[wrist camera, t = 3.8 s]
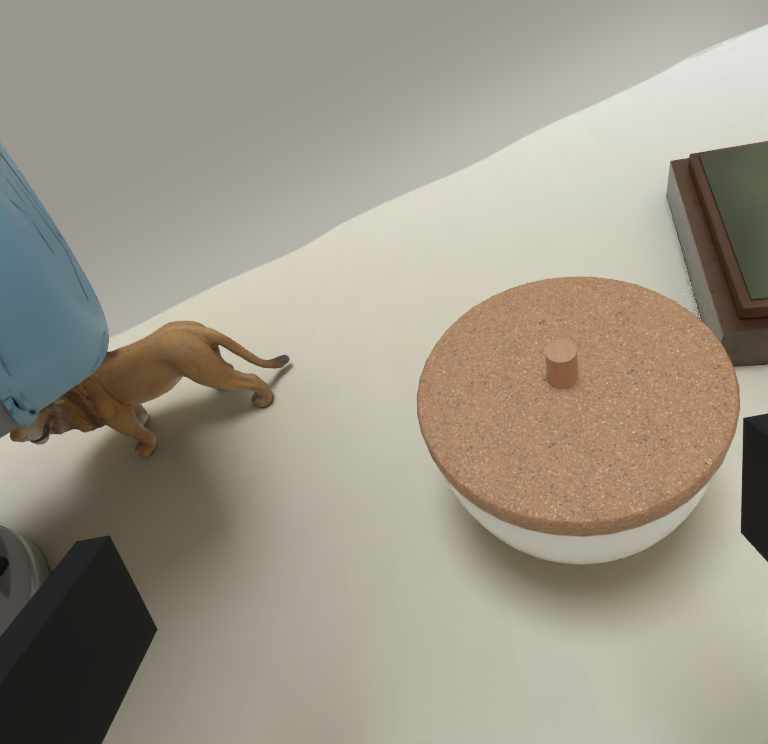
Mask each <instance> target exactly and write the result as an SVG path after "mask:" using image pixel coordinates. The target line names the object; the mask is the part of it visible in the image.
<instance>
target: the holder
mask: <svg viewBox="0 0 768 744" xmlns="http://www.w3.org/2000/svg"><path fill="white" fill-rule="evenodd" d="M667 197H668V201H669V204H670V208H671V212H672V215H673V219H674V222H675V226H676V229H677V233H678V237H679V240H680V244H681V247H682V251H683V254H684V258H685V262H686V265H687V269H688V272H689V276H690V279H691V283H692V287H693V290H694V294H695V297H696V301H697V304H698V308H699V312H700V315H701V319H702V322H703V323H704V324H705V325H706V326H707V327H708V328H709V329H710V330H711V331H712V332H713V333H714V335H715V336H716V337H717V339H718V340H719V341H720V343H721V344H722V345H723V347H724V348H725V350H726V352H727V354H728V356H729V358H730V360H731V362H732V364H733V366H737V365H754V364H768V141H765V142H759V143H753V144H747V145H741V146H735V147H729V148H723V149H718V150H712V151H706V152H700V153H694V154H690V156H689V158H686V159H680V160H674V161H671V162H670V170H669V178H668V187H667Z"/></svg>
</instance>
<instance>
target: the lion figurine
mask: <svg viewBox="0 0 768 744" xmlns="http://www.w3.org/2000/svg"><path fill="white" fill-rule="evenodd" d="M218 345H221V346H223V347H225V348H226V349H228V350H230V351H231V352H233V353H234V354H236V355H238V356H240V357H242V358H243V359H245V360H247V361H248V362H250V363H253V364H255V365H257V366H260V367H263V368H274V369H275V368H281V367H283V366H284V365H285V364H286V363H288V361H289V357H288V356H287V355H282V356H279V357H276V358H274V359H271V360H263V359H260V358H258V357H257V356H255V355H254V354H252V353H251V352H249V351H248V350H246V349H245V348H244V347H242V346H241V345H239V344H238V343H236V342H235V341H234V340H232V339H230V338H229V337H227V336H225V335H223V334H221V333H219V332H218V331H216V330H213V329H211V328H207V327H205V326H204V325H202V324H200V323H197V322H193V321H176V322H170V323H167V324H166V325H164V326H162V327H161V328H159V329H158V330H157V331H155V332H154V333H152V334H150V335H149V336H147V337H145V338H143V339H141V340H139V341H137V342H135V343H133V344H130V345H128V346H125V347H122V348H119V349H117V350H114V351H111V352H107V353H106V356H105V358H104V360H103V362H102V363H101V365H100V366H99V367H98V368H97V369H96V370H95V372H94V373H93V374H91V375H90V376H89V377H87V378H86V379H84V380H83V381H82V382H80V383H79V384H77V385H76V386H74V387H73V388H72V389H70V390H69V391H67V392H66V393H65V394H63V395H62V396H60V397H59V398H57V399H56V400H55V401H53V402H52V403H50V404H49V405H47V406H46V407H45V408H43V409H42V410H40V411H39V414H38V418H37V419H36V420H35V421H34V422H33V423H32V424H30V425H28V426H19V427H17V428H15V429H14V430H12V431H11V432H10V438H11V440H12V441H16V442H25V441H31V442H33V443H35V444H44V443H46V442H47V441H48V439H49V436H50V434H63V433H64V432H67V431H69V430H72V429H78V430H80V431H82V432H89V431H93V430H95V429H97V428H101V427H102V426H104V425H107V426H109V427H111V428H112V429H114V430H116V431H118V432H120V433H122V434H124V435H126V436H129V437H132V438H135V439H137V440H139V442H138V444H137V446H136V448H135V452H137V453H138V455H139V456H145V457H147V456H149V455H150V454H151V453H152V451H153V450H154V448H155V447H156V437H155V434H154V433H153V432H152V431H150V430H149V429H147V428H146V427H144V426H143V425H145V423H146V422H147V420H148V414H147V411H146V410H145V409H144V408H143V407H142V406H141V403H144V402H147V401H150V400H153V399H155V398H157V397H159V396H161V395H163V394H164V393H166V392H168V391H169V390H171V389H172V388H173V387H174V386H175V385H176V384H177V383H178V382H179V381H180V379H181V378H182V377H183V376H184V377H187V378H189V379H191V380H193V381H194V382H196V383H198V384H201V385H204V386H208V387H211V388H215V389H225V390H248V391H255V393H254V395H253V396H252V399H251V401H252V402H253V403H254V404H255V405H256V406H259V407H264V406H266V405H268V404H269V403H270V402H271V400H272V392H271V389H270V387H269V385H268V384H266V383H265V382H264V381H263V380H261V379H260V378H259V377H258V376H256V375H254V374H246V373H241V372H238V371H236V370H234V367H233V366H232V365H231V364H229V363H227V362H226V361H224V360H223V358H222V356H221V354H220V350H219V347H218Z"/></svg>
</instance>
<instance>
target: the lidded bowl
mask: <svg viewBox="0 0 768 744" xmlns="http://www.w3.org/2000/svg"><path fill="white" fill-rule="evenodd" d="M739 411H740V397H739V385H738V381H737V377H736V373H735V370H734V366H733V364H732V362H731V360H730V358H729V356H728V354H727V352H726V350H725V348H724V347H723V345H722V344H721V343H720V341H719V340H718V339H717V337H716V336H715V335H714V333H713V332H712V331H711V330H710V329H709V328H708V327H707V326H706V325H705V324H704V323H703V322H702V321H701V320H700V319H698V318H697V317H696V316H695V315H694V314H693V313H691V312H690V311H688V310H687V309H686V308H684V307H683V306H681V305H680V304H678V303H677V302H676V301H674V300H672V299H669V298H667V297H665V296H663V295H661V294H659V293H657V292H655V291H652V290H649V289H647V288H644V287H641V286H638V285H636V284H631V283H627V282H622V281H618V280H612V279H605V278H597V277H564V278H552V279H546V280H541V281H536V282H531V283H527V284H524V285H521V286H517V287H514V288H511V289H508V290H506V291H504V292H501V293H499V294H497V295H495V296H492V297H490V298H489V299H487V300H485V301H483V302H482V303H480V304H478V305H476V306H474V307H473V308H472V309H471V310H469V311H468V312H467V313H465V314H464V315H463V316H462V317H460V318H459V319H458V320H457V321H456V322H455V323H454V324H453V325H452V326H451V327H450V328H449V329H448V330H446V332H445V333H444V334H443V336H442V337H441V338H440V340H439V341H438V342H437V344H436V345H435V346H434V348H433V350H432V352H431V353H430V355H429V357H428V359H427V361H426V363H425V366H424V369H423V371H422V374H421V377H420V381H419V387H418V393H417V415H418V419H419V424H420V429H421V433H422V435H423V438H424V440H425V443H426V445H427V447H428V450H429V452H430V454H431V456H432V459H433V460H434V462H435V463H436V465H437V466H438V468H439V469H440V471H441V472H442V474H443V475H444V477H445V479H446V481H447V483H448V485H449V486H450V488H451V489H452V491H453V492H454V494H455V495H456V497H457V498H458V500H459V501H460V502H461V504H462V505H463V506H464V507H465V509H466V510H467V511H468V512H469V513H470V514H471V515H472V516H473V517H474V518H475V519H476V520H477V522H478V523H479V524H481V525H482V526H483V527H484V528H486V529H487V530H488V531H490V532H491V533H492V534H493V535H495V536H496V537H497V538H499V539H500V540H501V541H503V542H505V543H506V544H508V545H510V546H512V547H514V548H515V549H517V550H519V551H521V552H524V553H527V554H529V555H532V556H534V557H537V558H540V559H545V560H549V561H554V562H558V563H568V564H582V565H583V564H595V563H606V562H610V561H614V560H618V559H622V558H626V557H629V556H631V555H634V554H636V553H638V552H641V551H643V550H645V549H647V548H649V547H650V546H652V545H653V544H655V543H657V542H658V541H660V540H661V539H663V538H664V537H666V536H667V535H669V534H670V533H671V532H672V531H673V530H674V529H675V528H677V527H678V526H679V525H680V524H681V523H682V522H683V521H684V520H685V519H686V518H687V517H688V516H689V514H690V513H691V512H692V510H693V509H694V508H695V506H696V505H697V504H698V502H699V501H700V499H701V498H702V497H703V495H704V494H705V493H706V491H707V489H708V487H709V485H710V483H711V480H712V478H713V476H714V474H715V472H716V471H717V470H718V468H719V467H720V466H721V464H722V463H723V460H724V458H725V456H726V454H727V451H728V449H729V447H730V444H731V442H732V440H733V437H734V435H735V431H736V427H737V421H738V416H739Z"/></svg>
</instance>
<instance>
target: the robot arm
mask: <svg viewBox="0 0 768 744" xmlns="http://www.w3.org/2000/svg"><path fill="white" fill-rule="evenodd" d="M108 343H109V333H108V327H107V322H106V319H105V315H104V313H103V310H102V308H101V305H100V303H99V301H98V299H97V296H96V294H95V292H94V290H93V288H92V287H91V284H90V283H89V281H88V279H87V277H86V275H85V274H84V272H83V270H82V268H81V267H80V265H79V263H78V261H77V260H76V258H75V256H74V255H73V253H72V251H71V249H70V248H69V246H68V244H67V243H66V241H65V239H64V238H63V236H62V234H61V233H60V231H59V230H58V228H57V226H56V225H55V223H54V222H53V220H52V218H51V217H50V215H49V214H48V212H47V211H46V209H45V208H44V206H43V204H42V203H41V201H40V200H39V198H38V197H37V195H36V194H35V192H34V191H33V189H32V188H31V186H30V185H29V183H28V182H27V180H26V179H25V177H24V176H23V174H22V173H21V172H20V170H19V169H18V167H17V166H16V164H15V163H14V162H13V160H12V159H11V157H10V156H9V154H8V153H7V152H6V150H5V149H4V147H3V146H2V145H1V143H0V438H1V437H3V436H4V435H6V434H8V433H9V432H11V431H12V430H14V429H15V428H17V427H19V426H28V425H30V424H32V423H33V422H34V421H35V420H36V419H37V418H38V414H39V411H40V410H42V409H43V408H45V407H46V406H47V405H49V404H50V403H52V402H53V401H55V400H56V399H57V398H59V397H60V396H62V395H63V394H65V393H66V392H67V391H69V390H70V389H72V388H73V387H74V386H76V385H77V384H79V383H80V382H82V381H83V380H84V379H86V378H87V377H89V376H90V375H91V374H93V373H94V372H95V370H96V369H97V368H98V367H99V366H100V365H101V363H102V362H103V360H104V358H105V356H106V353H107V350H108ZM741 533H742V534H743V535H744V536H745V538H746V539H747V540H748V541H749V542H750V543H751V544H752V545H753V546H754V547H755V549H756V550H757V551H758V552H759V553H760V554H761V555H762V556H763V557H764V558H765V559H766V561H767V562H768V414H763V415H758V416H752V417H747V418H743V462H742V507H741ZM156 631H157V627H156V625H155V623H154V621H153V619H152V617H151V615H150V614H149V612H148V610H147V608H146V606H145V604H144V602H143V600H142V598H141V596H140V594H139V592H138V590H137V588H136V586H135V584H134V582H133V580H132V578H131V576H130V574H129V572H128V571H127V569H126V567H125V565H124V563H123V561H122V559H121V557H120V555H119V553H118V551H117V549H116V547H115V545H114V543H113V541H112V539H111V537H110V535H109V536H104V537H99V538H93V539H88V540H82V541H77V542H76V543H75V544H74V546H73V547H72V548H71V549H70V551H69V552H68V553H67V554H66V556H65V557H64V558H63V559H62V561H61V562H60V563H59V564H58V565H57V567H56V568H55V569H54V570H53V572H52V573H51V574H49V570H48V567H47V563H46V561H45V559H44V557H43V555H42V553H41V552H40V550H39V549H38V548H37V547H36V546H35V545H34V544H33V543H32V542H31V541H30V540H28V539H27V538H25V537H24V536H22V535H20V534H17V533H15V532H13V531H11V530H9V529H7V528H5V527H3V526H1V525H0V744H102V742H103V740H104V738H105V736H106V734H107V731H108V729H109V727H110V725H111V723H112V721H113V719H114V717H115V715H116V713H117V711H118V709H119V707H120V705H121V703H122V701H123V699H124V697H125V695H126V693H127V691H128V689H129V687H130V684H131V682H132V680H133V678H134V676H135V674H136V672H137V670H138V668H139V666H140V664H141V662H142V660H143V658H144V656H145V654H146V652H147V650H148V648H149V646H150V644H151V642H152V640H153V637H154V635H155V633H156Z"/></svg>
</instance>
